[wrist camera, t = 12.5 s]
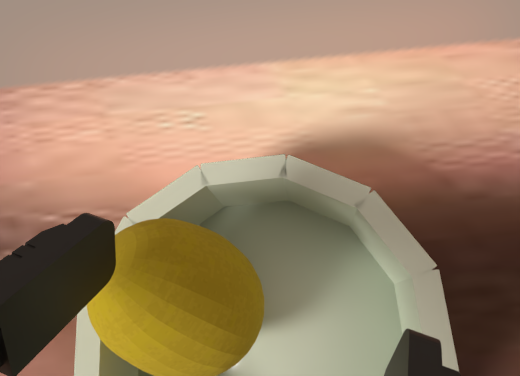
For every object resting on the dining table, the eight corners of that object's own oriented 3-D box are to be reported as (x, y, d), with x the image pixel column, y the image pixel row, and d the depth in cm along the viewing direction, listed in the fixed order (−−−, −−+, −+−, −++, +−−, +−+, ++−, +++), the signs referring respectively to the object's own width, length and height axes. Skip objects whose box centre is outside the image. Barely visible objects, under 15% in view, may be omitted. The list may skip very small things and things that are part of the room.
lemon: (285, 249, 19) (152, 154, 15) (317, 366, 15) (147, 287, 11) (200, 304, 21) (55, 235, 16) (208, 421, 17) (20, 376, 12)
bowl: (73, 401, 20) (7, 425, 16) (207, 149, 23) (182, 111, 19) (349, 577, 17) (360, 668, 12) (465, 257, 20) (507, 242, 15)
